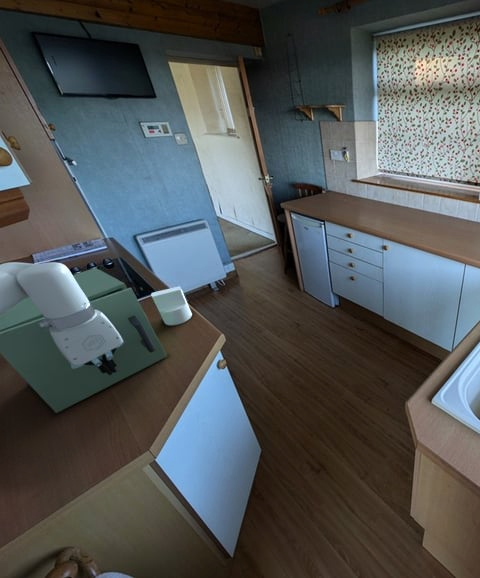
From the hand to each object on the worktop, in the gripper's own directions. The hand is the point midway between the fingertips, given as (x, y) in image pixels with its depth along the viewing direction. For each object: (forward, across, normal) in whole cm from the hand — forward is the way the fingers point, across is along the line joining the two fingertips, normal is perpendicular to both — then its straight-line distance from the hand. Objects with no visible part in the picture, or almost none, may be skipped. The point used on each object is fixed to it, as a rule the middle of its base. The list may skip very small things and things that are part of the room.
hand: (110, 371), depth 76 cm
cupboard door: (+9, 0, +5) cm, 11 cm away
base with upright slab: (+10, +27, +23) cm, 37 cm away
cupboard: (+9, +1, +19) cm, 21 cm away
